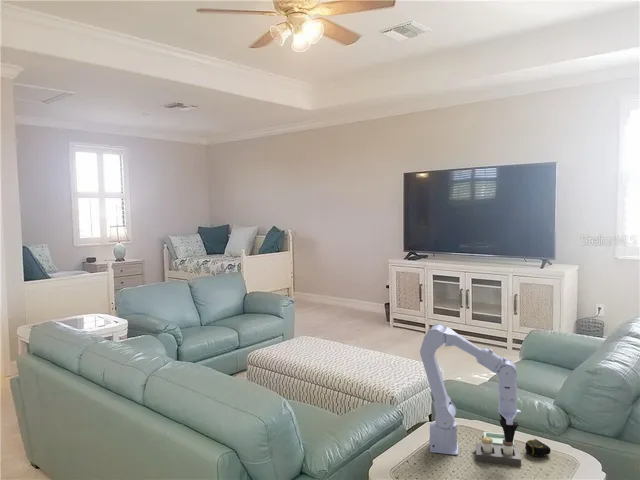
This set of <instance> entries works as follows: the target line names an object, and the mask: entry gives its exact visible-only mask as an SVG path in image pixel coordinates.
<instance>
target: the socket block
mask: <svg viewBox="0 0 640 480" xmlns="http://www.w3.org/2000/svg"><path fill="white" fill-rule="evenodd" d="M475 456H476V457H475V458H476V462H483V463H484V462H485V463H491V464H492V463H493V464H502V465H508V466H509V465H511V466H517V467H518V466H520V467H521V466H522V457H521V453H520V448H519V447H513V456H510V455H503V446H498V445H492V454H491V453H483V448H482V443H475Z"/></svg>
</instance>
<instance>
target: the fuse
mask: <svg viewBox="0 0 640 480" xmlns="http://www.w3.org/2000/svg"><path fill="white" fill-rule="evenodd" d="M481 441H482V443H481V444H482V448H483V452H482V453H491V454H492V439H491V438H489V437H484V436H483V437H482V438H481Z"/></svg>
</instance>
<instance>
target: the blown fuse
mask: <svg viewBox="0 0 640 480" xmlns="http://www.w3.org/2000/svg"><path fill="white" fill-rule="evenodd" d="M503 455H510V456H513V442H506V441H505V439H504V440H503Z"/></svg>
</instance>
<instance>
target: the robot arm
mask: <svg viewBox="0 0 640 480" xmlns="http://www.w3.org/2000/svg"><path fill="white" fill-rule="evenodd" d="M443 345H444V347H452V346H455V347H456V348H458V349H460V350H462V351H463V352H466V353H468V354H469V355H471V356H473V357H475V359H476V362H477V363H478V364H479V365H481V366H482V367H484V368H486V369H487V370H489V371H490V372H492V373H495V374H496V375H497V377H498V383H497V384H498V388H497V389H498V391H497V392H498V393H497V394H498V409H497V411H498V414H499V417H500V419H499V424H500V426H501V427H502V430H503V434H504V436H505V441H506V442H513V440H514V437H515V434H516V433H515V432H516V430H518V428H519V422H517V421H515V422H514V419H515V417H516V416H517V415H521V413H522V411H521V410H520V409H518V404H517V403H518V402H517V401H518V396H517V393H518V391H517V389H518V388H517V387H518V386H517V376H518V374H517V366H516V364H515V362H513V361H512V360H511V359H509V358H506V357H501V356H500V355H499V354H496V352H494V350H493V349H492V348H489V349H488V348H487V347H483V348H480V347H478V346H477V345H475V344H474V343H472V342H471V341H470V340H468V339H466V338H465V337H464V336H462V335H460V334H459V333H457V332H456V331H454V329H452V328H450V327H446V326H445V325H444V324H443V323H435V324H432V326H431V327H430V328H429V329H428V331H427V332H426V334H425V336H424V337H423V341H422V343H421V345H420V350H419V354H420V358H421V360H422V364H423V368H424V372H425V374H426V377H427V380H428V384H429V387H430V390H431V394H432V398H433V401H434V403H433V404H434V411H435V416H434V420H435V422H430V423H429V441H428V442H429V452H430V453H433V454H435V453H437V454H445V455H454V456H458V455H459V443H458V437H457V436H458V434H457V433H458V428H457V425H458V424H457V422H456V420H455V417H456V415H457V407H456V406H455V404H454V403H453V402H452V400H451V397H450V396H449V395H448V391H447V389H446V386H445V385H446V384H445V382H444V379H443V375H442V372H441V369H440V366H439V362H438V359H437V356H436V351H437V350H438V349H439V348H440V347H442V346H443Z"/></svg>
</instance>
